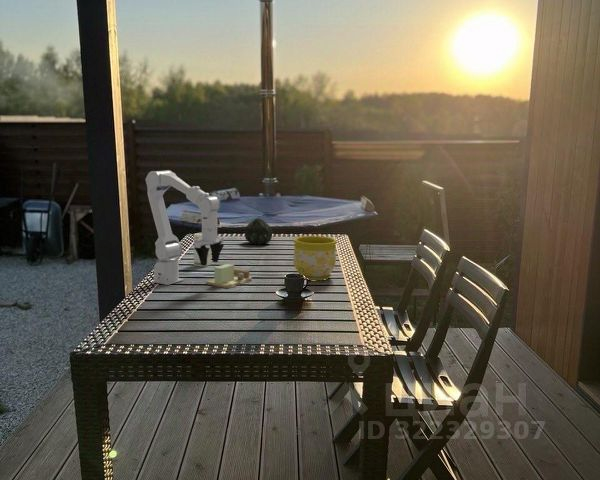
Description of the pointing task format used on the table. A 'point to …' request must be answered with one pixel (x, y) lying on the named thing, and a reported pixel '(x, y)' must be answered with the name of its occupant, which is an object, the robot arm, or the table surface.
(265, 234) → the squash
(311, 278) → the flowerpot
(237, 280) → the board
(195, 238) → the printed cardboard box
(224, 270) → the block
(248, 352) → the table surface
